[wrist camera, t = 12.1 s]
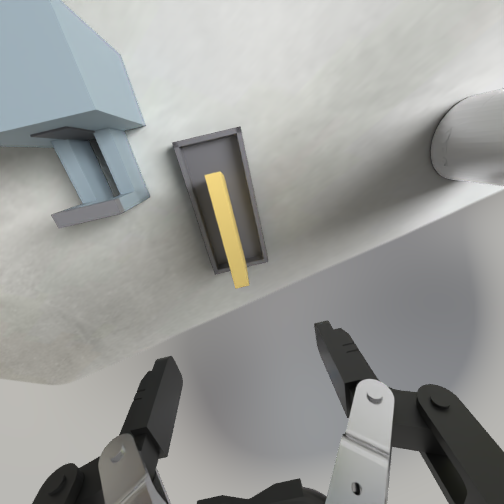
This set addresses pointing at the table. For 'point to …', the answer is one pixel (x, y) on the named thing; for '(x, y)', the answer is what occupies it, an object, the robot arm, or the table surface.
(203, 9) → the table surface
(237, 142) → the tray
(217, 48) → the table surface
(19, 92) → the dispenser
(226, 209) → the ticket
